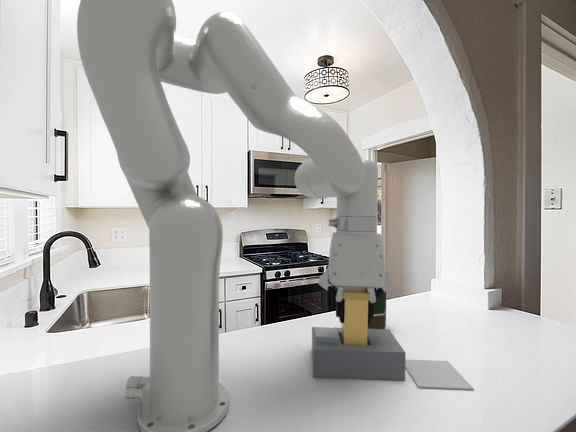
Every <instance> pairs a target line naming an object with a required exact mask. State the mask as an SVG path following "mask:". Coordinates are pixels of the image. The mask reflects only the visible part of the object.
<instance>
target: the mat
mask: <svg viewBox="0 0 576 432" xmlns="http://www.w3.org/2000/svg"><path fill="white" fill-rule="evenodd" d="M405 371H407V373H408V375H409V377H411V379H412V381H413V383H414V384H415V385H416V387H417V388H418V389H429V390H431V389H432V390H433V389H434V390H459V391H474V390H475V388H474V387H473V386H472V385H471V384H470V383H469V382H468V381H467V380H466V379H465V378H464V376H463V375H462V374H461V373H459V371H458V370H457V368H455V367H454V366H453V364H451V363H450V362H449V361H448V360H430V359H428V360H426V359H405Z"/></svg>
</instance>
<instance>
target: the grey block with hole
mask: <svg viewBox="0 0 576 432" xmlns="http://www.w3.org/2000/svg"><path fill="white" fill-rule="evenodd" d="M341 330H342V327H320V326H318V327H317V326H312V327H311V364H312V365H311V366H312V378H325V379H348V380H349V379H351V380H352V379H353V380H374V381H375V380H378V381H400V382H405V381H406V368H405V360H406V351H405V349H404V348H403V346H402V345H401V344H400V342H399V341H398V339H396V337H395V336H394V334H393V332H392V331H391V330H390V329H387V328H385V329H368V330H367V345H345V344H342V343H341Z"/></svg>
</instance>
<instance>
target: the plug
mask: <svg viewBox="0 0 576 432" xmlns="http://www.w3.org/2000/svg"><path fill="white" fill-rule="evenodd" d="M368 300H370V293H369V292H368V291H367V289H365V288H354V287H345V290H344V291H343V301H344V303H345V307H344V323H341V328H342V330H341V343H342V344H345V345H367V330H368Z"/></svg>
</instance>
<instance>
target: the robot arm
mask: <svg viewBox="0 0 576 432" xmlns="http://www.w3.org/2000/svg"><path fill="white" fill-rule="evenodd" d="M176 15H177V14H176V9H175V4H174V3H173V0H80V1H79V6H78V11H77V20H76V33H77V35H76V36H77V45H78V50H79V56H80V60H81V64H82V67H83V68H82V69H83V70H84V73H85V77H86V80H87V82H88V84H89V86H90V89H91V92H92V95H93V96H94V99H95V102H96V104H97V106H98V110H99V113H100V115H101V118H102V119H103V121H104V124H105V127H106V129H107V132H108V133H109V136H110V138H111V141H112V143H113V147H114V148H115V151H116V156H117V160H118V163H119V167H120V169H121V171H122V173H123V175H124V177H125V178H126V181H127V184H128V186H129V188H130V190H131V193H132V195H133V197H134V199H135V201H136V203H137V206H138V208H139V210H140V212H141V215H142V218H143V219H144V221H145V224H146V226H147V228H148V232H149V236H148V237H149V238H148V239H149V240H148V241H149V245H148V246H149V376H141V375H139V376H138V375H130V376H129V377H128V379H127V382H126V384H125V388H126V390H125V393H124V399H125V400H139V401H140V402H142V403H141V405H140V406H139V409H138V411H137V427H138V429H139V431H140V432H209V431H210V430H212V429H213V428H214V427H216V426H217V425H218V424H219V423H220V422H221V421H222V420H223V419H224V417H225V416H226V414H227V413H228V411H229V408H230V407H229V406H230V395H229V391H228V389H227V388H226V387H225V386H224V385H223V384H221V383H220V382H219V381H220V379H219V378H220V377H219V376H220V373H219V372H220V370H219V369H220V357H219V356H220V271H221V269H220V268H221V259H222V250H223V242H224V241H223V240H224V238H223V235H224V232H223V231H224V230H223V224H222V220H221V218H220V215H219V213H218V211H217V210H216V209H215V207H214V206H213V205H212V204H211V203H210V202H208V200H206V199H204V198H203V197H200V196H198V195H197V192H196V190H195V187H194V184H193V182H192V179H191V177H190V174H189V172H188V171H189V168H190V164H191V155H190V151H189V148H188V145H187V143H186V142H185V139H184V137H183V135H182V133H181V130H180V128H179V125H178V123H177V120H176V118H175V116H174V114H173V111H172V109H171V106H170V104H169V102H168V99H167V96H166V93H165V89H164V88H163V85H162V83H164V84H168V85H171V86H175V87H179V88H184V89H188V90H191V91H196V92H201V93H207V94H213V95H220V94H221V95H222V94H225V93H227V94H228V95H229V97H230V98H231V99H232V101H233V102H234V103H235V104H236V106H237V107H238V108H239V110H241V112H242V113H243V115H244V116H245V117H246V118H247V120H248V121H249V122H250V123H251V125H252V126H253V127H254V128H255V129H257V130H260V131H262V132H264V133H267V134H270V135H271V134H272V135H275V136H279V137H281V138H283V139H286V140H288V141H290V142H291V143H294V144H295V145H296V146H297V147H299V148H300V149H302V151H303V152H305V153H306V155H307V156H308V157H309V158H310V159H307V160H305V161H304V162H302V163H301V164H300V165H299V166H298V167H297V169H296V171H295V173H294V184H295V187H296V189H297V190H298V192H299V193H301V194H302V195H303V196H305V197H307V198H310V199H327V198H336V216H335V217H334V218H332V219H331V218H330V219H328V226H329V227H332V228H335V230H336V231H334V232H332V236H331V241H330V245H329V246H330V247H329V255H328V267H327V268H326V270H324V272H323V273H322V275H321V277H320V278H319V279H318V281H317V284H318V285H319V286H320V287H321V288H323V289H324V290H326V291H327V292H328V293H329V294H330V295H331V296H332V297H333V298H334V299H335V317H336V318H338V320H339V323H340V324H342V323H344V307H345V303H344V301H343V291H344V290H345V287H354V288H365V289H367V291H368V292H369V293H370V300H368V324H370V322H371V318H373V312H374V303H375V302H376V300H377V299H378V298H379V297H380V296H381V295H382V294H383V293H384V292H386V293H387V291H389V290H391V289H393V287H394V284H393V283H392V281H391V279H390V278H389V276H388V275H387V273H386V269H385V253H384V243H383V237H382V234H381V233H377V228H378V227H377V226H378V189H379V187H378V185H379V184H378V182H379V181H378V179H379V178H378V177H379V175H378V174H379V170H378V169H379V168H378V165H377V163H375V161H373V160H368V159H363V158H362V157H361V155H360V153H359V151H358V149H357V148H356V146H355V144H354V143H353V142H352V140H351V138H350V137H349V135H348V134H347V133H346V131H345V130H344V128H343V127H342V126H341V124H339V123H338V121H336V120H335V118H333V117H332V116H330V115H329V114H328V113H326V112H325V111H323V110H322V109H320V108H319V107H317V106H316V105H315V104H312V103H311V102H310V101H307V100H305V99H304V98H302V97H300V96H298V95H297V94H296V93H295V92H294V91H293V90H292V89H291V87H290V85H289V84H288V83H287V81H286V80H285V78H284V77H283V75H282V73H280V71H279V70H278V68H277V67H276V66H275V64H274V63H273V61H272V60H271V58H270V57H269V55H268V54H267V53H266V51H265V50H264V49H263V47H262V46H261V44H260V43H259V41H258V40H257V39H256V37H255V36H254V34H253V32H252V31H251V30H250V29H249V27H248V25H246V24H245V22H244V21H243V20H242V19H241V18H240V17H239V16H237V15H236V14H234V13H232V12H228V11H219V12H216V13H213V14H212V15H211V16H210V17H208V18H207V19H206V20H205V21H204V23H203V24H202V26H201V27H200V29H199V31H198V34H197V36H196V40H194V39H189V38H187V37H183V36H182V35H181V36H180V35H177V34H176V31H177V16H176ZM328 280H329V282H328ZM374 288H375V289H374Z"/></svg>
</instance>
